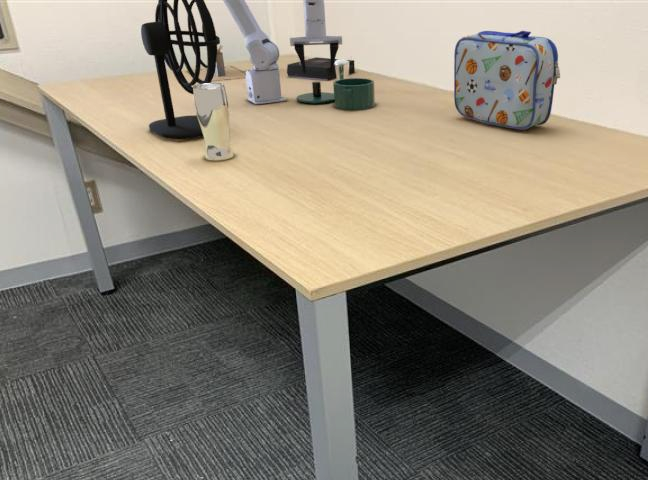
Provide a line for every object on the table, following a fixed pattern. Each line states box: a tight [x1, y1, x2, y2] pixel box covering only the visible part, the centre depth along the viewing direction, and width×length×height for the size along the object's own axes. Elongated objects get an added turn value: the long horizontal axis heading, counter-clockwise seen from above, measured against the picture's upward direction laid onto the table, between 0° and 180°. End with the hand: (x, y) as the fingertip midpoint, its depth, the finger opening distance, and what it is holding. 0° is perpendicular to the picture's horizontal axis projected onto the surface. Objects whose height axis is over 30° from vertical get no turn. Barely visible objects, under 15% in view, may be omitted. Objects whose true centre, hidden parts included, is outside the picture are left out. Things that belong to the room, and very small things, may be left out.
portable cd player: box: [286, 57, 356, 82], centre depth 231 cm, size 16×17×4 cm
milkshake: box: [334, 55, 352, 81], centre depth 205 cm, size 4×5×10 cm
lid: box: [296, 80, 334, 105], centre depth 195 cm, size 12×12×5 cm
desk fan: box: [140, 0, 221, 141], centre depth 159 cm, size 27×18×35 cm, turn 36°
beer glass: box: [192, 82, 234, 162], centre depth 144 cm, size 7×7×15 cm
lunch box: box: [453, 30, 561, 130], centre depth 162 cm, size 28×10×22 cm, turn 45°
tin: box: [332, 77, 376, 111], centre depth 188 cm, size 11×17×6 cm
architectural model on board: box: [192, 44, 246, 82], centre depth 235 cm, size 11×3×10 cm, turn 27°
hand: (318, 72), depth 192 cm, fingers open, 7 cm apart
